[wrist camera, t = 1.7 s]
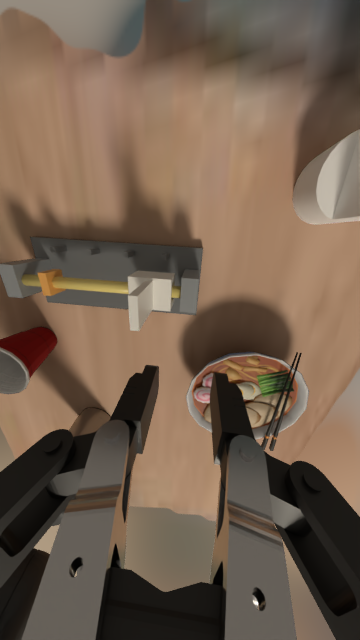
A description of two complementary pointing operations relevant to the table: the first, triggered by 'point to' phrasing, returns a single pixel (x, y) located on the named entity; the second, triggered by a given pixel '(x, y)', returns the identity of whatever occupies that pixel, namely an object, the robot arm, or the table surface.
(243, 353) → the ramen bowl
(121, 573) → the robot arm
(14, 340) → the plastic cup
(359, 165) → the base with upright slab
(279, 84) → the table surface
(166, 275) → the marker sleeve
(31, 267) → the cable comb fixture
